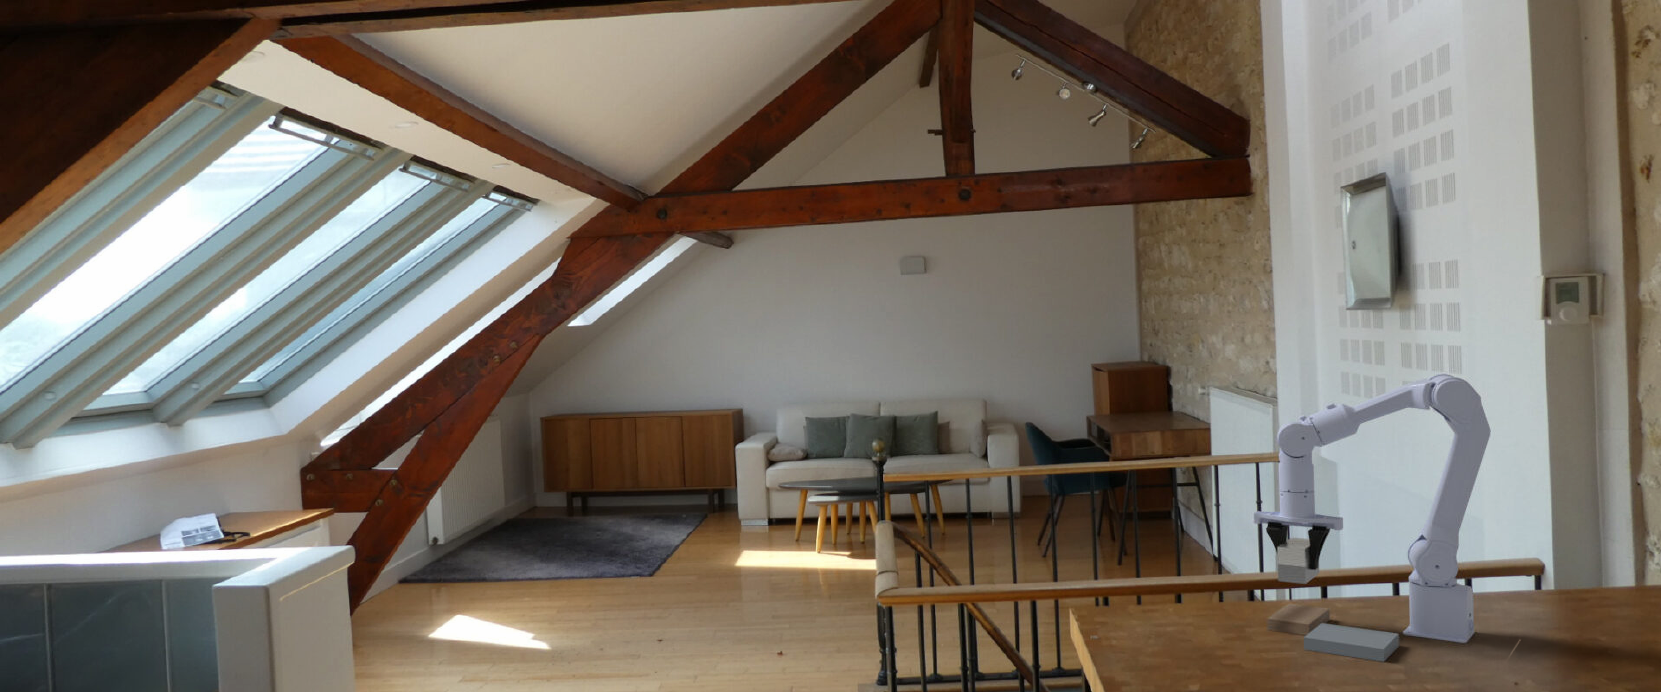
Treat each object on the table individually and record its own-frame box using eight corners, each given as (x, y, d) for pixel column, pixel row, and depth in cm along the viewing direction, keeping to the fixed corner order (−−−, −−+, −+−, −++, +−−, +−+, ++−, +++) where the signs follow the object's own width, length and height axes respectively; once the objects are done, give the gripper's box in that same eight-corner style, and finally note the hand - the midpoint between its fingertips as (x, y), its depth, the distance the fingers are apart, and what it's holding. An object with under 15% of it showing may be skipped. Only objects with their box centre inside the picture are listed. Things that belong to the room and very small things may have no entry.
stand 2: (1399, 645, 181) (1398, 633, 181) (1383, 661, 173) (1383, 649, 173) (1322, 634, 188) (1321, 622, 188) (1304, 649, 181) (1303, 637, 181)
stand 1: (1329, 619, 197) (1329, 608, 197) (1309, 636, 188) (1309, 624, 188) (1289, 614, 202) (1288, 603, 202) (1267, 629, 192) (1267, 618, 192)
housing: (1319, 573, 196) (1318, 539, 196) (1305, 583, 189) (1304, 549, 189) (1292, 570, 199) (1292, 537, 199) (1278, 580, 192) (1277, 546, 192)
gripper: (1346, 489, 192) (1348, 566, 193) (1261, 484, 201) (1263, 558, 202) (1336, 495, 187) (1338, 575, 187) (1249, 490, 196) (1251, 565, 196)
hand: (1298, 567), depth 194 cm, fingers closed on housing, 4 cm apart
